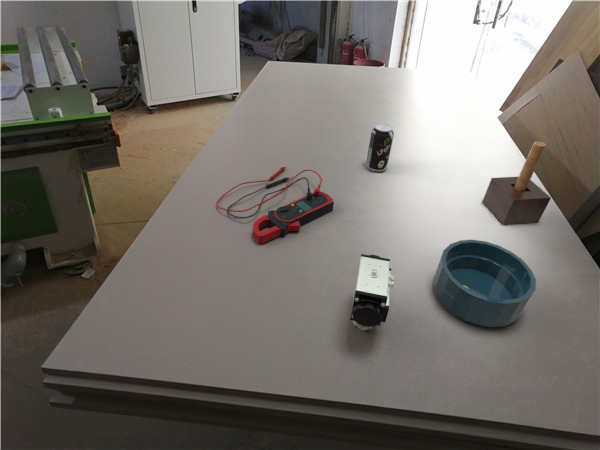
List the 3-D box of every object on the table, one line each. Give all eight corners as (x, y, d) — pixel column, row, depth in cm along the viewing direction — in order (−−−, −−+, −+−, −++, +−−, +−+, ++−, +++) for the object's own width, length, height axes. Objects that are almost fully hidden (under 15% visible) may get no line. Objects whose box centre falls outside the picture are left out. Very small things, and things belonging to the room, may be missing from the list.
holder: (515, 200, 101) (526, 176, 97) (538, 222, 94) (551, 197, 90) (481, 202, 100) (491, 177, 95) (502, 225, 92) (513, 200, 88)
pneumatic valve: (345, 345, 65) (355, 295, 57) (353, 292, 74) (362, 243, 66) (379, 353, 64) (394, 302, 57) (383, 298, 73) (396, 249, 66)
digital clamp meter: (351, 192, 92) (262, 234, 79) (349, 208, 95) (262, 251, 82) (287, 151, 106) (202, 181, 92) (287, 166, 108) (204, 197, 95)
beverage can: (390, 166, 111) (398, 126, 104) (381, 175, 107) (389, 133, 100) (371, 160, 113) (378, 120, 106) (361, 168, 110) (368, 127, 102)
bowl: (490, 263, 82) (503, 237, 78) (538, 325, 70) (556, 298, 66) (418, 269, 80) (427, 242, 75) (455, 335, 68) (468, 307, 63)
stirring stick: (510, 208, 98) (541, 140, 87) (516, 214, 96) (548, 146, 85) (501, 209, 98) (531, 141, 86) (507, 215, 96) (538, 146, 85)
